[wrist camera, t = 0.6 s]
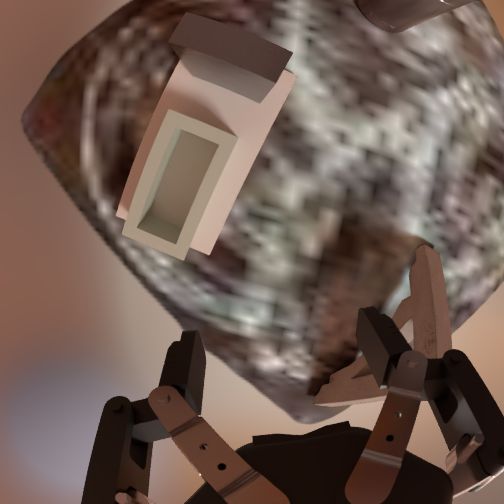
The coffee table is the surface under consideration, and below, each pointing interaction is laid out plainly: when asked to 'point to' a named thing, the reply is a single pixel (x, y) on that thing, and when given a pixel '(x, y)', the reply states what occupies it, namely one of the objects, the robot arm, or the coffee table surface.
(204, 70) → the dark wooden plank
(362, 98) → the coffee table surface
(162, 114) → the well board
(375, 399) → the wall bracket
